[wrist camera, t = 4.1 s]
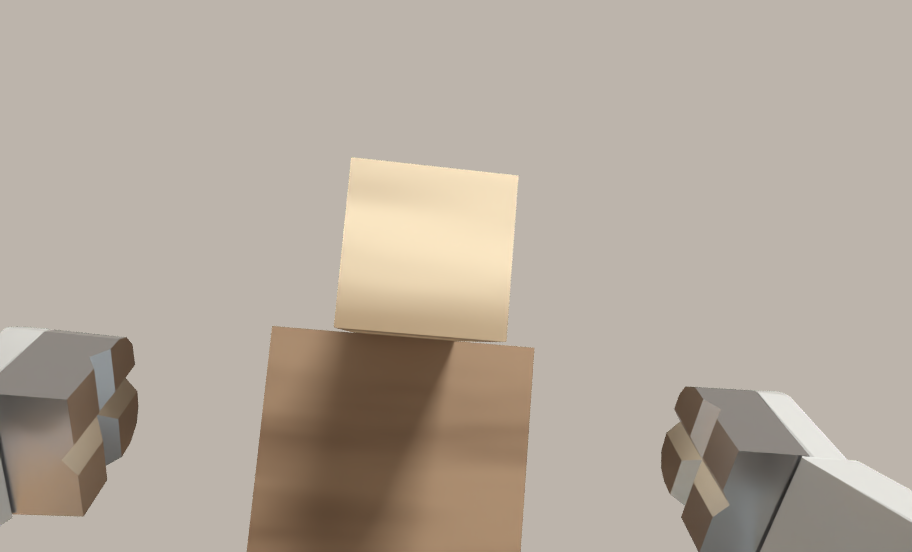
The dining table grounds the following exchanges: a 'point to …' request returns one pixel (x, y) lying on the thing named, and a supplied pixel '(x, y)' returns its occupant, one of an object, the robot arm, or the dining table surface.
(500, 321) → the beech rod
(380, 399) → the walnut stand
